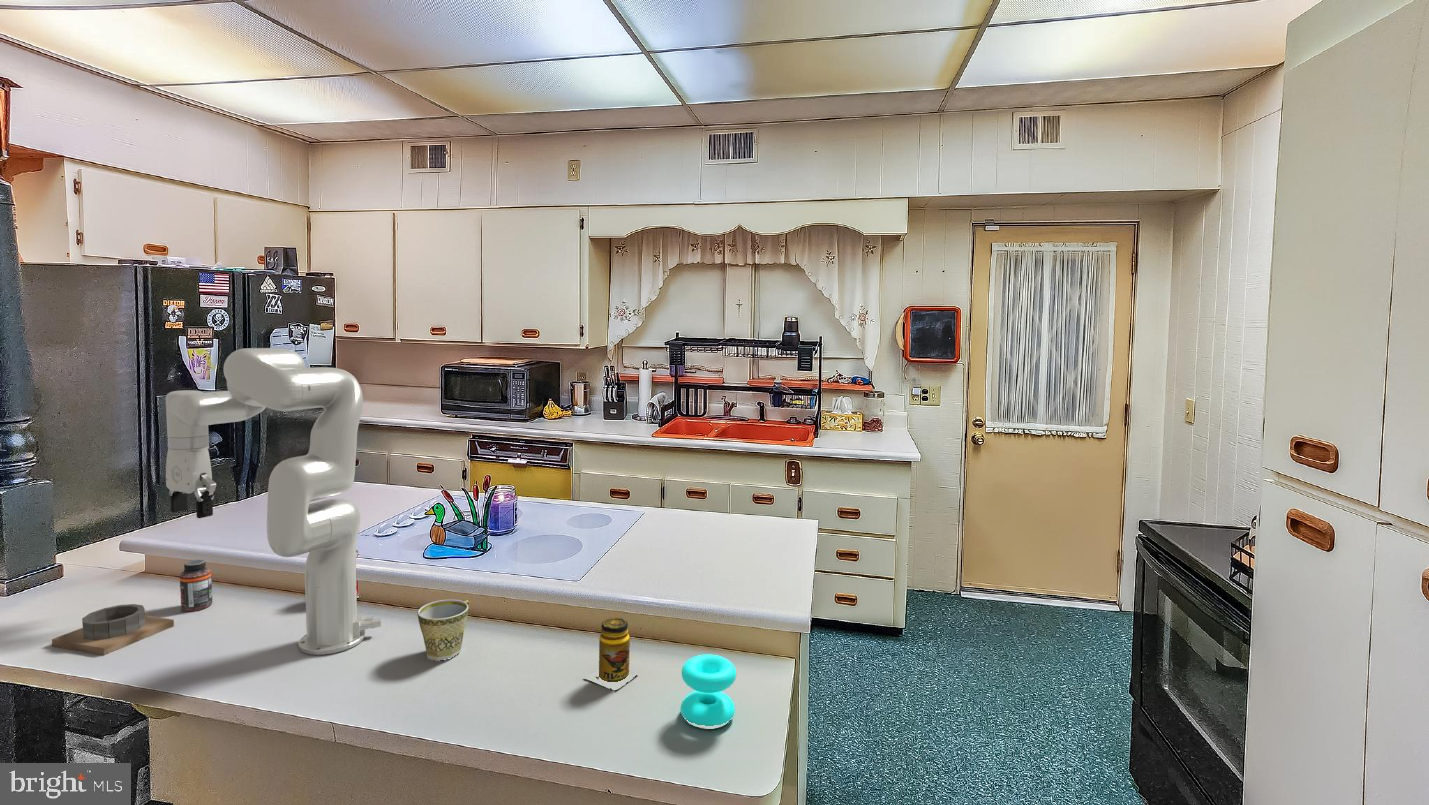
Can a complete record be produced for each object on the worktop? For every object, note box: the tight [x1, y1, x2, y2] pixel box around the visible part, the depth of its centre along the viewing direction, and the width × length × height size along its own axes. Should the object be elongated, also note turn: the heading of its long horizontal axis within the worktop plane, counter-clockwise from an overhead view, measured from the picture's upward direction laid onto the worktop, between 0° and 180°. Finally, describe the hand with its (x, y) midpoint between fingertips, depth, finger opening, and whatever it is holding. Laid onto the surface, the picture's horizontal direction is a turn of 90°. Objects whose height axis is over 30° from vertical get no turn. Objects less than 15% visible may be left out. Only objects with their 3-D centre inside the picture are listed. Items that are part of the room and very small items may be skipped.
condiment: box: [598, 617, 631, 682], centre depth 131 cm, size 7×8×12 cm
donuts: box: [680, 654, 737, 726], centre depth 118 cm, size 10×10×10 cm
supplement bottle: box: [179, 558, 213, 612], centre depth 156 cm, size 6×6×11 cm
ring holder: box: [51, 603, 175, 656], centre depth 141 cm, size 14×14×5 cm
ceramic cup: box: [417, 599, 471, 662], centre depth 139 cm, size 13×10×10 cm
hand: (192, 513), depth 154 cm, fingers open, 9 cm apart
